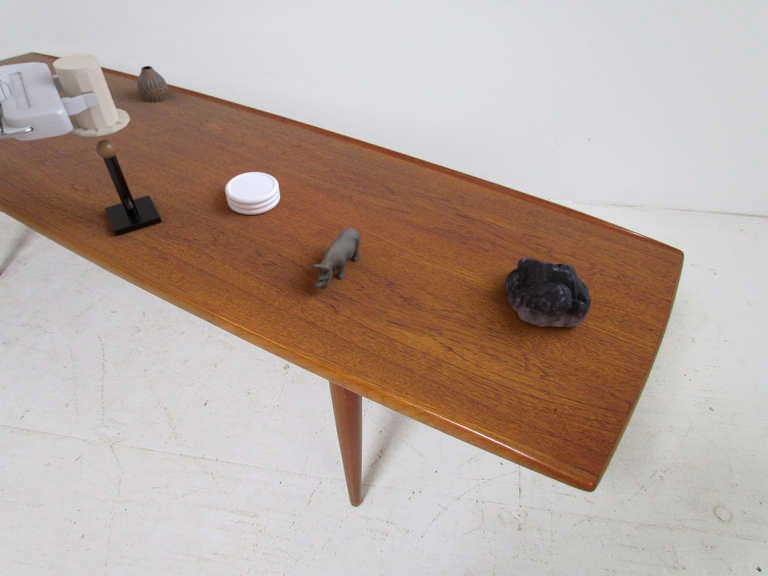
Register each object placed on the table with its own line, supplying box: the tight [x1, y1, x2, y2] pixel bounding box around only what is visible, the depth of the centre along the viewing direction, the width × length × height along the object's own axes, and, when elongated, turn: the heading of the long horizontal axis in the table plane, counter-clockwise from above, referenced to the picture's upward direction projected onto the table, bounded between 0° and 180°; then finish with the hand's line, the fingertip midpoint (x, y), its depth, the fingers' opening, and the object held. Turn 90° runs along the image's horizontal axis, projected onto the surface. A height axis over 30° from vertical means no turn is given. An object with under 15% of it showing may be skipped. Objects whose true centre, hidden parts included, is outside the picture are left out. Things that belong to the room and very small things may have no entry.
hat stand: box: [95, 139, 163, 237], centre depth 86 cm, size 8×8×16 cm
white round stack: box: [224, 171, 281, 216], centre depth 95 cm, size 10×10×4 cm
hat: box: [52, 53, 131, 138], centre depth 78 cm, size 9×9×10 cm
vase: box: [136, 65, 170, 103], centre depth 121 cm, size 7×7×9 cm
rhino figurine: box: [312, 227, 362, 290], centre depth 81 cm, size 4×14×6 cm, turn 155°
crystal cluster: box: [503, 257, 592, 328], centre depth 76 cm, size 13×14×10 cm
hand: (92, 88), depth 78 cm, fingers closed on hat, 6 cm apart
